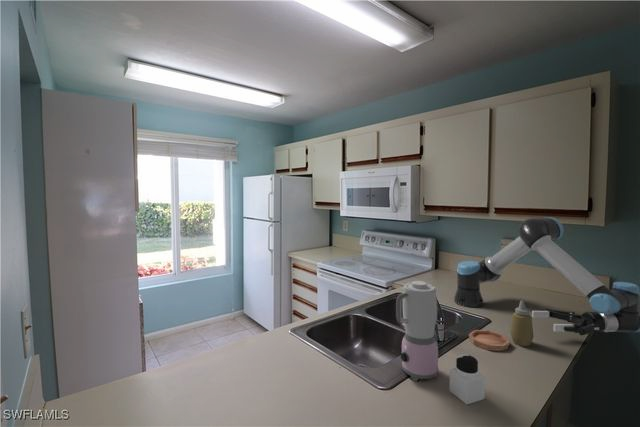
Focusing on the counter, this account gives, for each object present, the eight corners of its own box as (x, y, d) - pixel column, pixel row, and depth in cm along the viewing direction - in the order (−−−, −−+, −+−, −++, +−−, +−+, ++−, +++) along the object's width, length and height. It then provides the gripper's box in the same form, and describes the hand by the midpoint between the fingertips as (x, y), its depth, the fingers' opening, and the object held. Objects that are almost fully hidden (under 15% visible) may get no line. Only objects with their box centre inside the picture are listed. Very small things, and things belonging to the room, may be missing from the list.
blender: (422, 359, 114) (422, 276, 112) (446, 377, 102) (446, 285, 101) (387, 368, 108) (386, 281, 107) (408, 388, 97) (407, 291, 95)
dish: (465, 334, 133) (465, 329, 133) (498, 335, 132) (498, 330, 132) (478, 350, 119) (478, 345, 119) (515, 351, 118) (515, 346, 118)
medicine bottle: (485, 399, 91) (485, 361, 90) (467, 405, 89) (467, 366, 88) (466, 385, 98) (466, 349, 97) (449, 390, 95) (449, 354, 95)
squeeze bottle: (537, 348, 120) (538, 304, 119) (515, 347, 121) (515, 303, 120) (527, 339, 128) (528, 298, 127) (506, 338, 129) (507, 297, 128)
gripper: (627, 345, 109) (564, 344, 111) (575, 318, 133) (524, 317, 135) (627, 325, 108) (564, 324, 110) (575, 301, 133) (525, 301, 135)
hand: (542, 320), depth 123 cm, fingers open, 13 cm apart
